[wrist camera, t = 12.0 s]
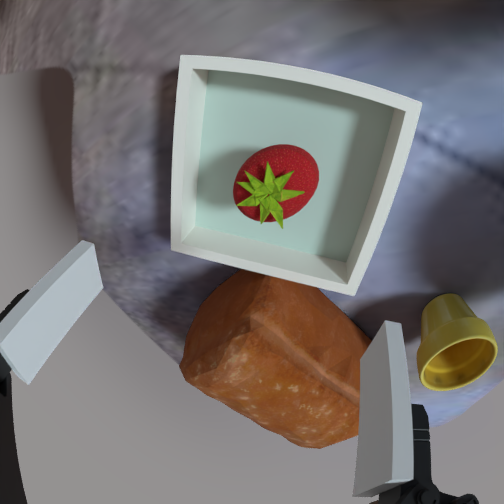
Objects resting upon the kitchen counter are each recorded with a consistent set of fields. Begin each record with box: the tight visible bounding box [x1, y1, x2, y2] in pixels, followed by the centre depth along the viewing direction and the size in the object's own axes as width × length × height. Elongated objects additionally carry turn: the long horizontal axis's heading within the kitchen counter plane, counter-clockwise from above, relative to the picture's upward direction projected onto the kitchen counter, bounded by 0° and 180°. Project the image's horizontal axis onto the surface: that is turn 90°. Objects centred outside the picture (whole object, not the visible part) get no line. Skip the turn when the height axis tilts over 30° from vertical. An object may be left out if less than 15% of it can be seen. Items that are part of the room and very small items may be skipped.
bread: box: [179, 269, 372, 449], centre depth 36 cm, size 17×24×15 cm
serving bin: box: [171, 55, 422, 296], centre depth 28 cm, size 20×20×5 cm
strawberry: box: [233, 144, 319, 229], centre depth 25 cm, size 6×8×10 cm
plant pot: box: [417, 293, 498, 391], centre depth 30 cm, size 10×10×10 cm
